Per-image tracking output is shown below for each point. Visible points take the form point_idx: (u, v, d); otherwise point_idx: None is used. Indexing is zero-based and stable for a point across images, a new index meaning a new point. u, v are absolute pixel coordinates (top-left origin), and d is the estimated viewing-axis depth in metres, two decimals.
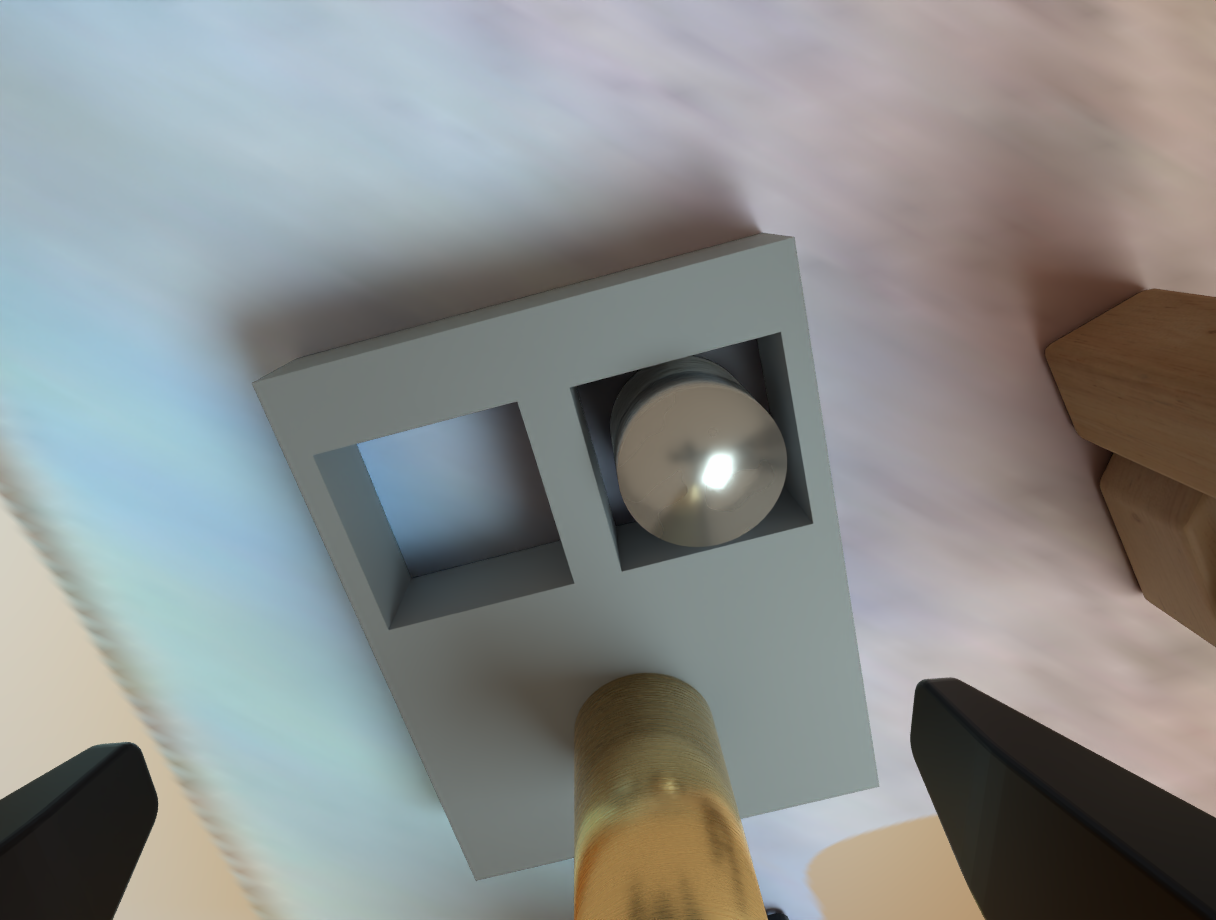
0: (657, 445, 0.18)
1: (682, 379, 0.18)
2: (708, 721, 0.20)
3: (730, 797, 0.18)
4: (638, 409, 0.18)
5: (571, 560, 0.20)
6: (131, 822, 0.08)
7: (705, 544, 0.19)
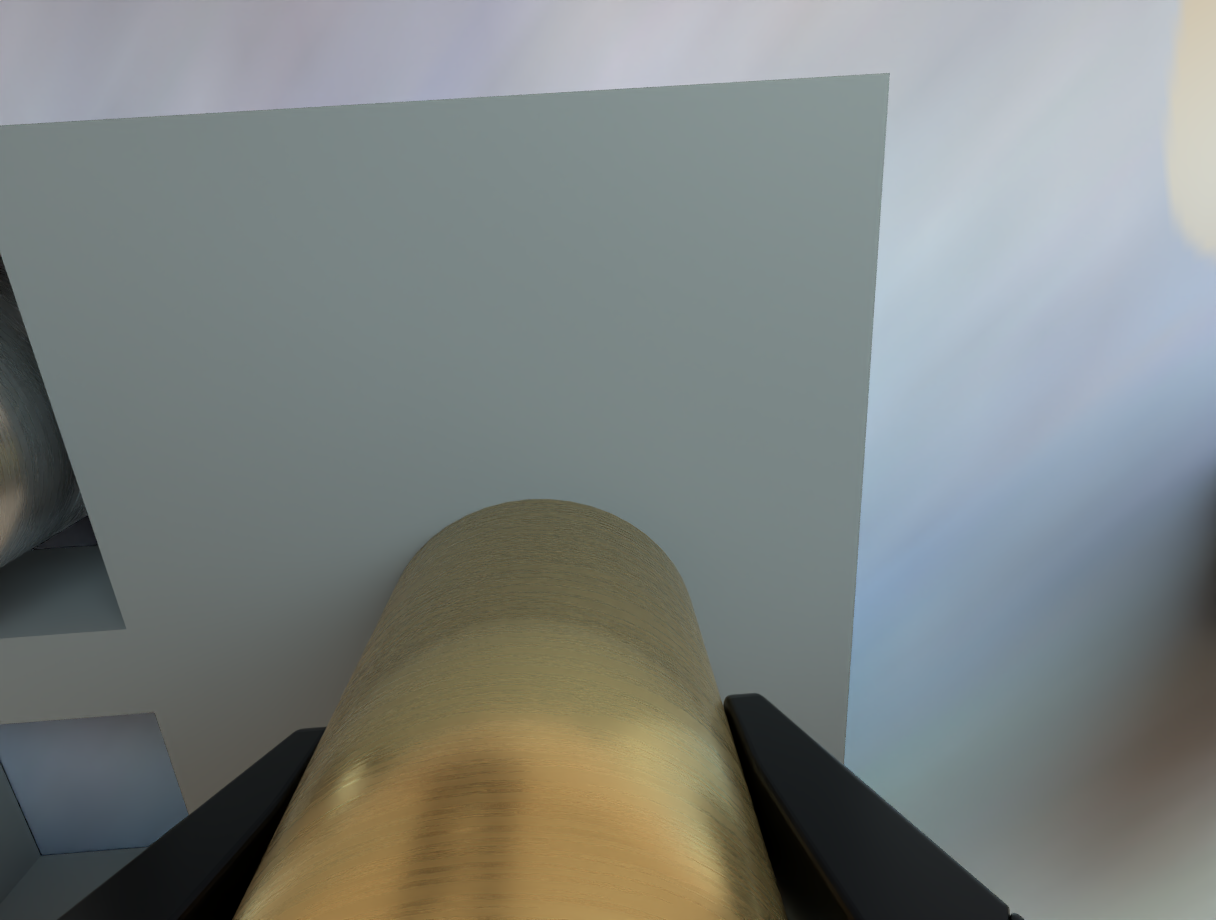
0: None
1: None
2: (452, 555, 0.08)
3: (414, 699, 0.06)
4: None
5: (99, 710, 0.10)
6: None
7: None
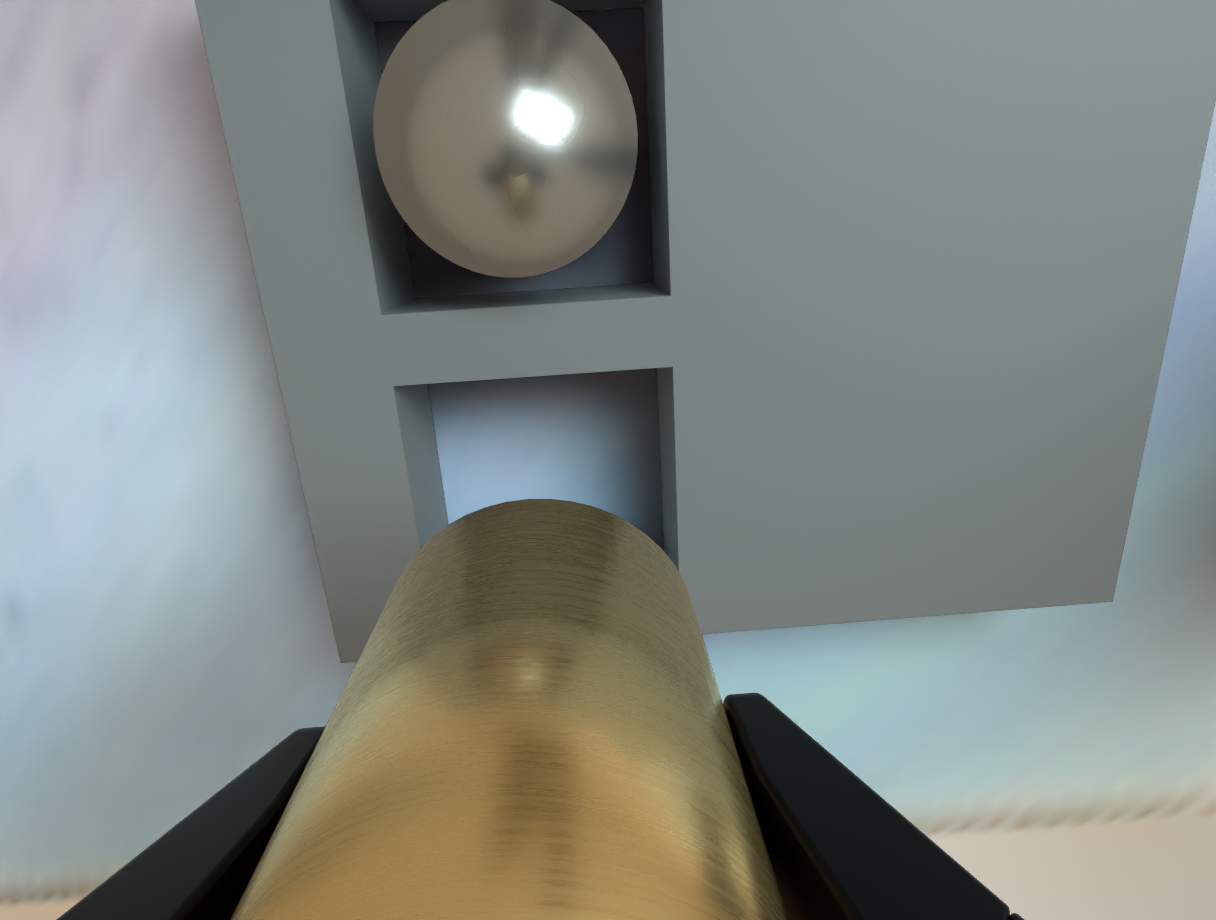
0: (456, 207, 0.12)
1: None
2: (451, 555, 0.08)
3: (413, 700, 0.06)
4: None
5: (635, 364, 0.14)
6: None
7: (634, 158, 0.12)
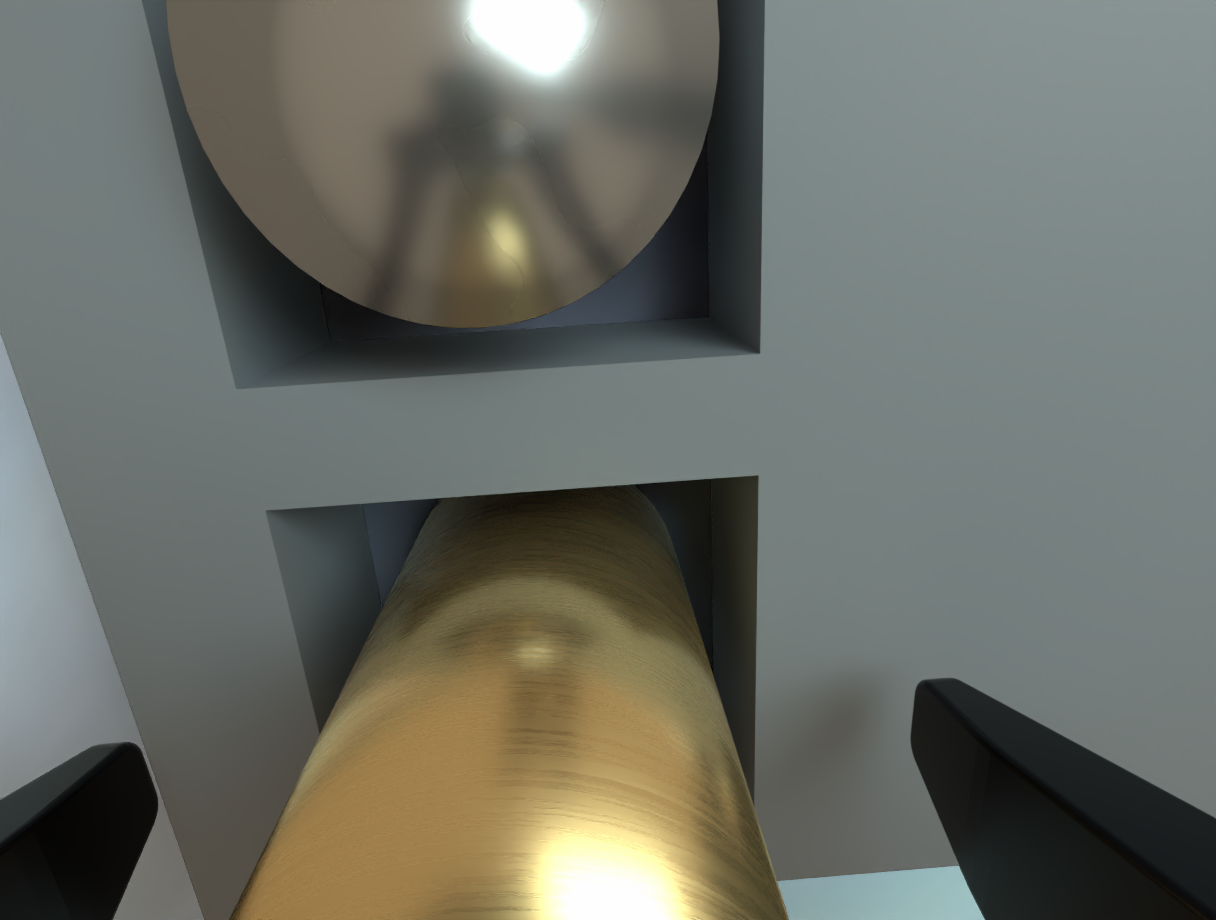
0: (349, 189, 0.06)
1: None
2: None
3: (450, 584, 0.07)
4: None
5: (693, 471, 0.08)
6: (131, 822, 0.08)
7: (710, 87, 0.06)
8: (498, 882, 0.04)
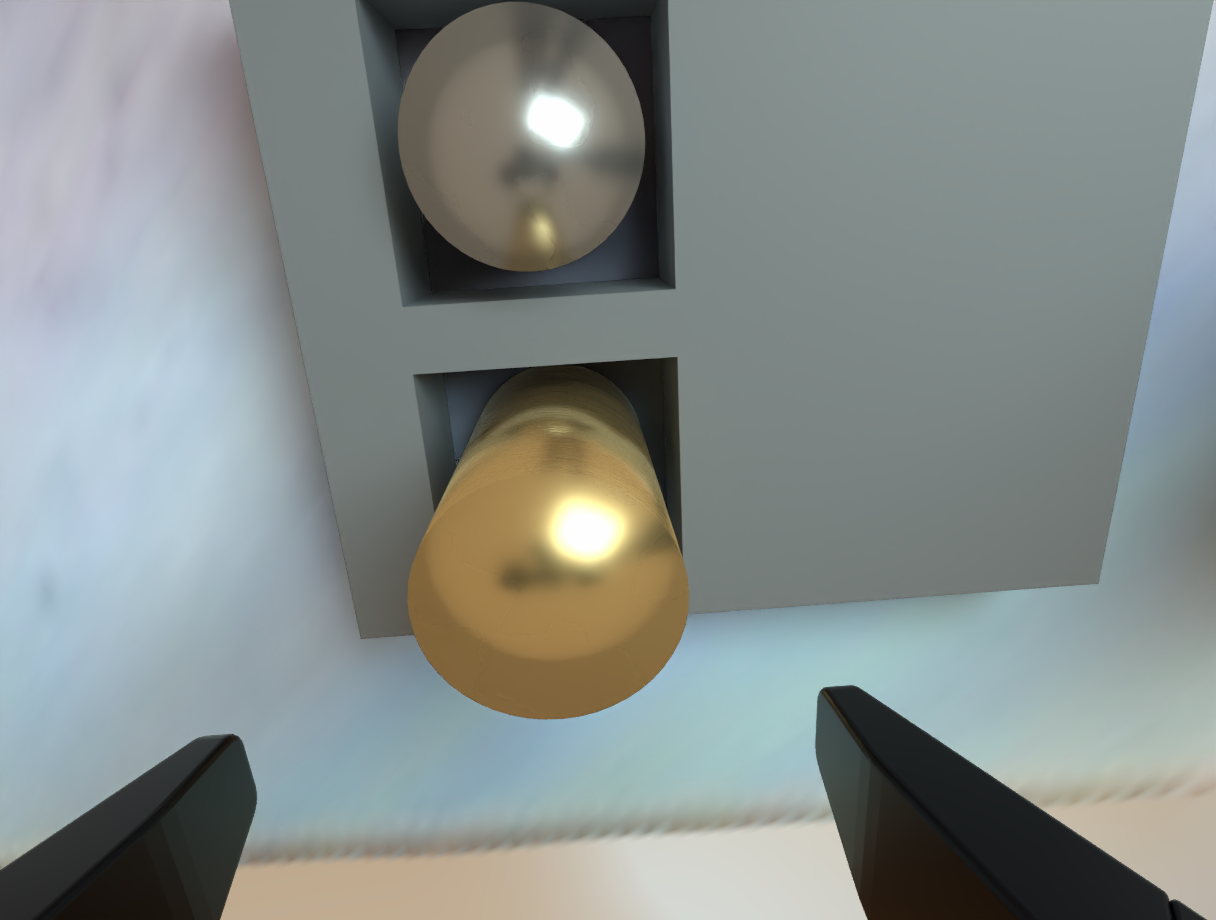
0: (474, 205, 0.13)
1: None
2: (517, 382, 0.17)
3: (514, 409, 0.14)
4: None
5: (642, 354, 0.15)
6: (236, 814, 0.08)
7: (641, 158, 0.13)
8: (551, 461, 0.11)
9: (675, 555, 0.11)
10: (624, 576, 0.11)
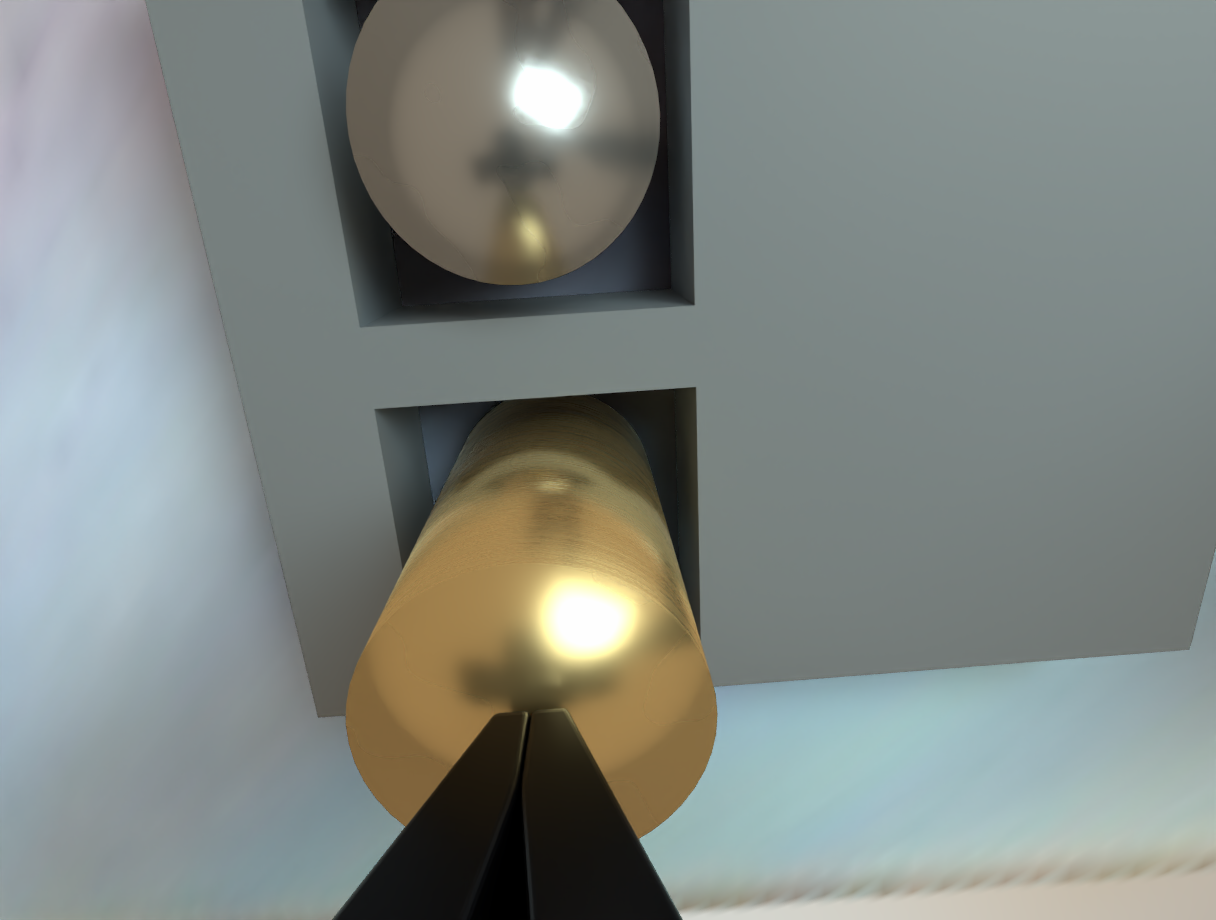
0: (445, 202, 0.10)
1: None
2: (502, 414, 0.14)
3: (494, 454, 0.11)
4: None
5: (653, 384, 0.12)
6: None
7: (655, 143, 0.10)
8: (535, 543, 0.08)
9: (699, 666, 0.08)
10: (632, 693, 0.08)
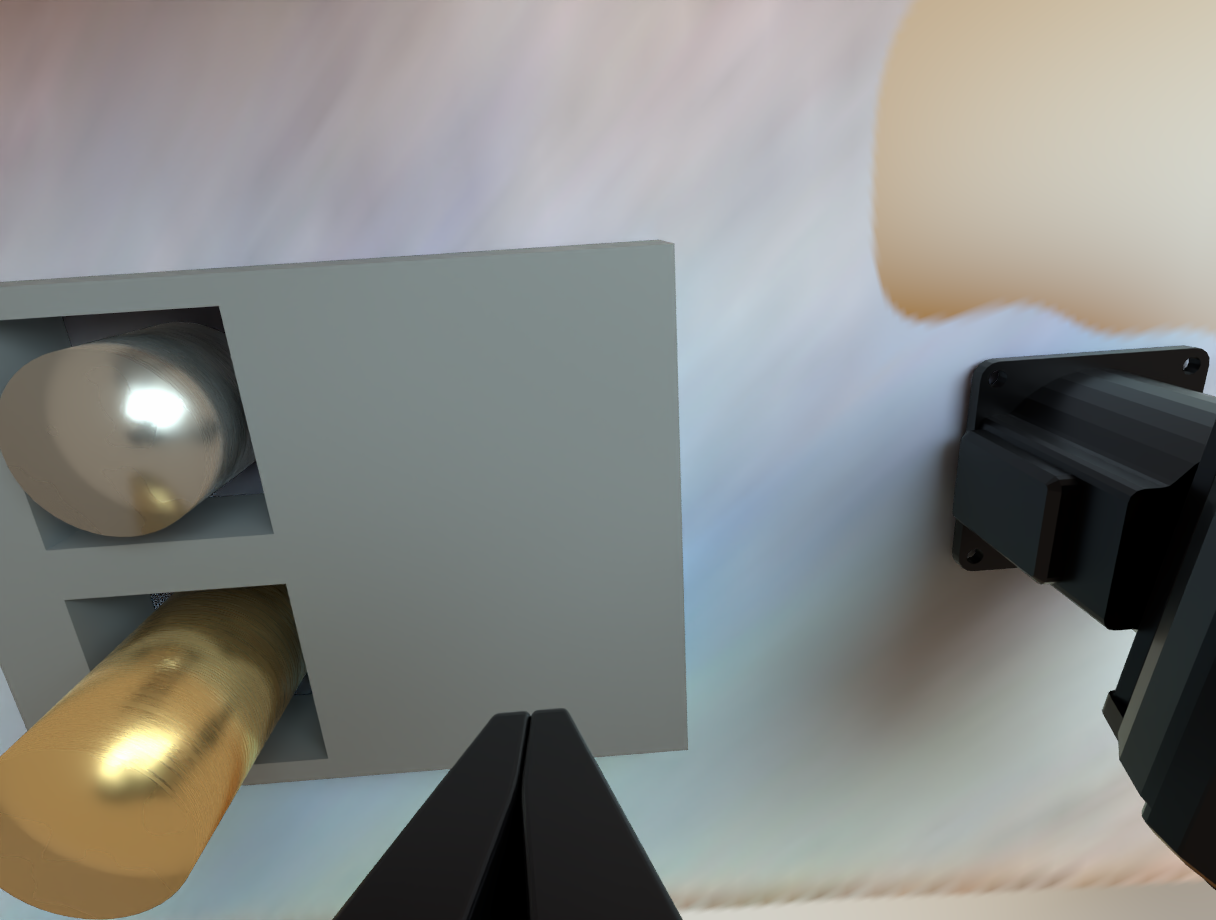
0: (71, 490, 0.16)
1: None
2: None
3: (136, 635, 0.17)
4: None
5: (255, 582, 0.18)
6: None
7: (202, 455, 0.16)
8: (71, 731, 0.14)
9: (171, 802, 0.14)
10: (134, 818, 0.14)
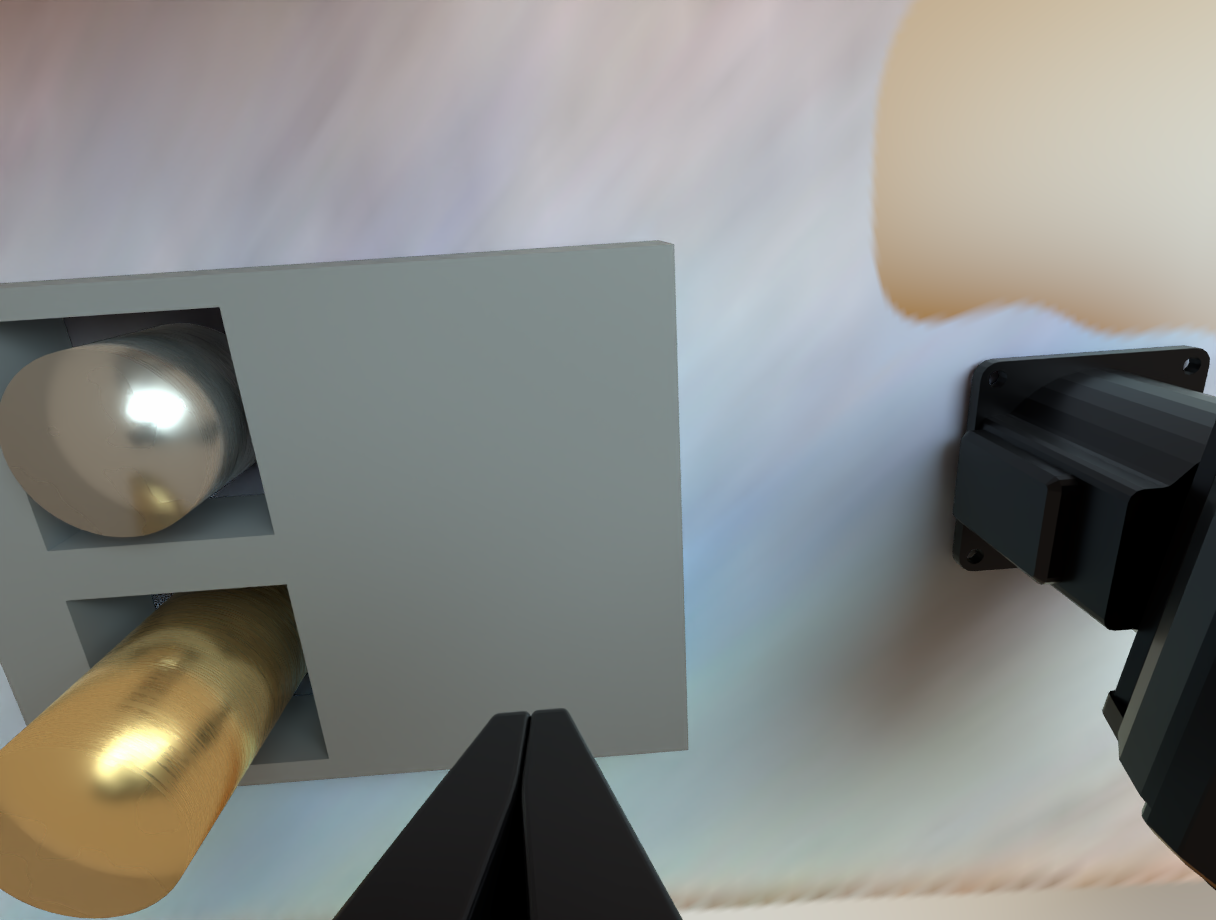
0: (72, 491, 0.16)
1: None
2: None
3: (135, 634, 0.17)
4: None
5: (256, 582, 0.18)
6: None
7: (203, 455, 0.16)
8: (66, 729, 0.14)
9: (165, 801, 0.14)
10: (128, 816, 0.14)
